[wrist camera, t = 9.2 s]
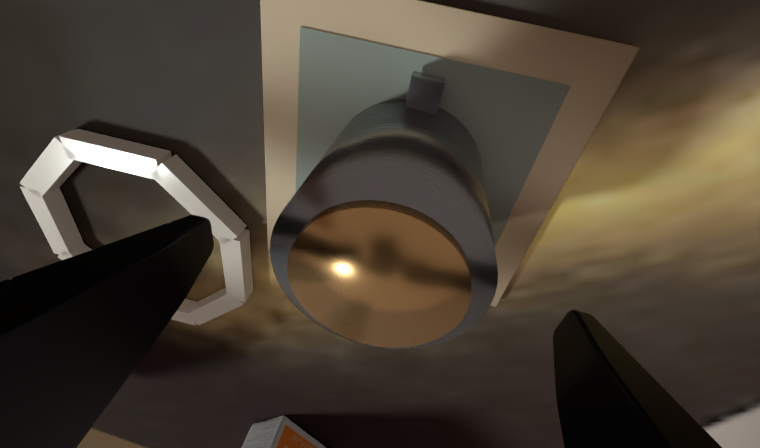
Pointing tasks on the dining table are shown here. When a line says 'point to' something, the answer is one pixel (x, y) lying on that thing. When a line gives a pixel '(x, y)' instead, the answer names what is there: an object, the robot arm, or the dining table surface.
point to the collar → (172, 176)
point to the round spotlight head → (392, 228)
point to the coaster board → (459, 98)
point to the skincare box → (279, 435)
